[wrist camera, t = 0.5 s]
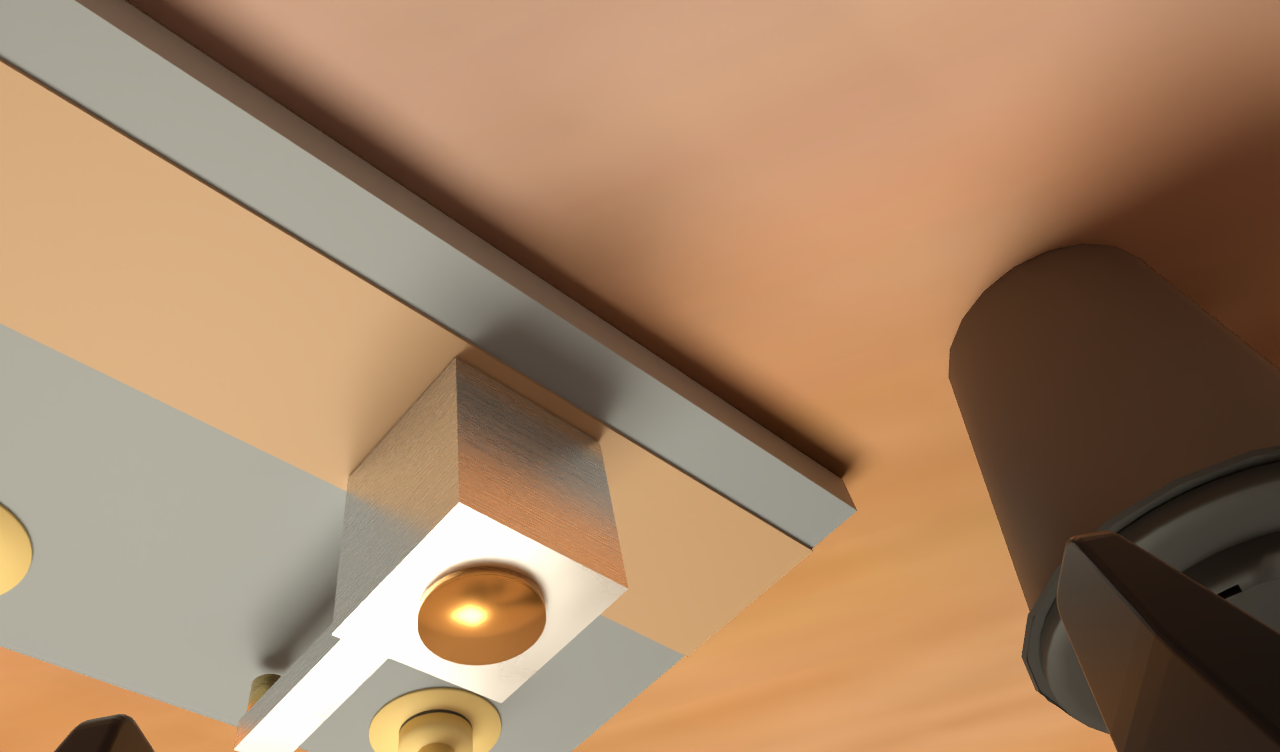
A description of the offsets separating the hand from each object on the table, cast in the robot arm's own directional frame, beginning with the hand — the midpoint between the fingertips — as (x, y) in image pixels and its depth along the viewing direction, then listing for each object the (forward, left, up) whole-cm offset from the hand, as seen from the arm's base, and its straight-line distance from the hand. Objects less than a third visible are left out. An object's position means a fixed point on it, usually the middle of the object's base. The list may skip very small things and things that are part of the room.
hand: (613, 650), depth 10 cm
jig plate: (-2, +10, -13) cm, 17 cm away
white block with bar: (-4, +10, -12) cm, 16 cm away
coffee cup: (-14, -4, -14) cm, 20 cm away
